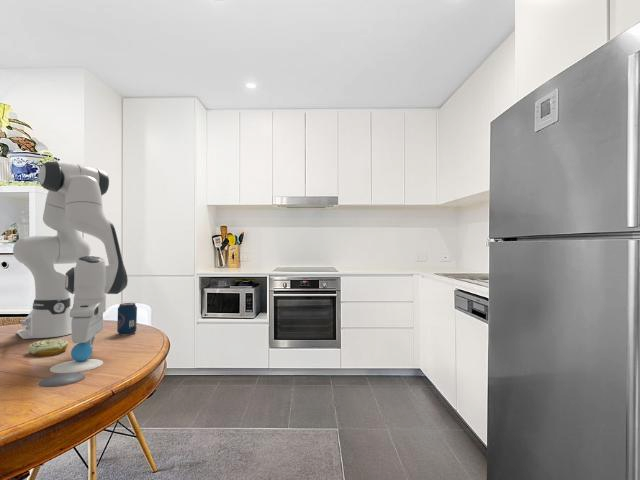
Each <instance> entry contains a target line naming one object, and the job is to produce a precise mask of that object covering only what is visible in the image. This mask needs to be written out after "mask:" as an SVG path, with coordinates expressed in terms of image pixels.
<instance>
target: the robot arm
mask: <svg viewBox="0 0 640 480" xmlns="http://www.w3.org/2000/svg"><path fill="white" fill-rule="evenodd" d="M37 176H38V181H39V184H40V186H41V187H42V188H43V189H44V190H47V191H48V192H47V194H46V199H45V204H44V209H43V214H42V221H43V223H44V224H45V226H47V227H49V228H50V229H53V231H56V235H54V236H51V235H50V236H47V235H46V236H45V235H31V236H24V237H19V239H17V240H16V241H15V243H14V245H13V248H12V253H13V255H14V256H13V257H14V258H15V259H16V260H17V262H19V263H20V264H23V265H24V266H25V267H26V268H27V269H28V270H29V271H30V272H31V275H32V277H33V279H34V288H35V290H34V291H35V293H34V294H35V298H34V300H33V303H32V308H31V309H32V310H31V311H30V312H29V314H28V315H27V316H26V317H25V318H24V319H22V320H21V321H20V322H21V323H20V324H21V326H22V327H24V328H23V329H18V330H17V332H16V334H17V335H18V336H19V337H20V338H21V339H22V340H23V339H24V340H25V339H28V340H29V339H45V338H46V339H47V338H48V339H49V338H55V337H62V336H67V335H70V334H71V340H72V342H73V344H79V343H87V344H89V345H90V346H91V347H92V350H93V349H94V343H95V338H96V335H97V334H99V333H100V332H101V331H103V328H104V313H106V308H107V307H106V306H107V305H106V304H107V303H106V302H107V295H118V294H120V293H121V292H123V291H124V290H125V289H126V288H127V286H128V281H129V279H128V278H129V277H128V274H127V270H126V267H125V264H124V261H123V257H122V253H121V248H120V244H119V239H118V235H117V231H116V229H115V225H114V223H113V222H111V221H109V220H108V218H107V217H106V216H105V214H104V210H103V198H102V197H103V196H104V195H105V194H106V193H107V192H108V191H109V190H108V189H109V187H110V178H109V175H108V174H107V172H106V171H103V170H101V169H99V168H92V167H89V166H85V165H81V164H73V163H66V162H63V163H62V162H58V161H45V162H44V163H43V164H42V165H41V167H40V168H39V171H38V174H37ZM80 232H81V233H82V234H86V235H89V236H92V237H94V238H95V239H96V238H97V239H98V240H100V241H101V242H102V244H103V246H104V249H105V253H106V257H107V262H108V265H106V262H105V259H104V258H102V257H100V256H91V245H90V243H89V241H87V239H85V238H84V237H83V236H82V235H81V234H80ZM56 264H57V265H60V264H63V265H65V264H75V266H73V267H71V268H70V269H68V270H67V271H65V274H64V273H62V272H58V271H56V269H55V265H56ZM70 294H71V295H74V296H73V303H72V301H71V297H70ZM106 294H107V295H106ZM71 304H72V307H71ZM70 307H71V308H70Z"/></svg>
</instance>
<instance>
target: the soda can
mask: <svg viewBox="0 0 640 480" xmlns="http://www.w3.org/2000/svg"><path fill="white" fill-rule="evenodd" d="M137 318H138V307H137V305H136V303H135V302H124V303H123V302H122V303H119V306H118V308H117V321H116V322H117V328H116V329H117V331H116V332H117V333H118V335H120V336H130V335H133V334H134V335H135V334H136V332H137V324H138V323H137V320H138V319H137Z"/></svg>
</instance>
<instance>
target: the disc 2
mask: <svg viewBox="0 0 640 480" xmlns="http://www.w3.org/2000/svg"><path fill="white" fill-rule="evenodd" d="M103 364H104V361H103V360H101V359H96V358H95V359H94V358H88V359H87V360H85V361H75V360H74V359H73V360H69V361H63V362H61V363H58V364H54V365H53V366H50V368H49V371H50V372H51V373H53V374H54V373H55V374H64V373H83V372H87V371H91V370H93V369H97V368H99V367H101V366H102V365H103Z"/></svg>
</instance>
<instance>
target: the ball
mask: <svg viewBox="0 0 640 480" xmlns="http://www.w3.org/2000/svg"><path fill="white" fill-rule="evenodd" d="M92 354H93V349H92V347H91V346H90V345H89V344H87V343H76V344H75V345H74V346H73V347H72V349H71V351H70V356H71V358H72V359H73V360H75V361H85V360H87V359H90V358H91V356H92Z"/></svg>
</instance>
